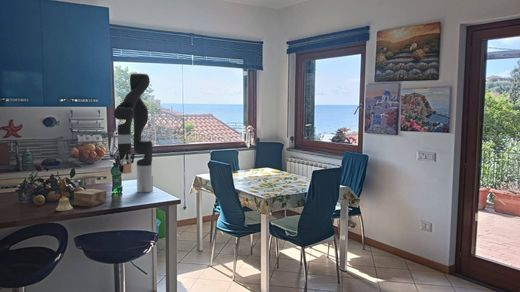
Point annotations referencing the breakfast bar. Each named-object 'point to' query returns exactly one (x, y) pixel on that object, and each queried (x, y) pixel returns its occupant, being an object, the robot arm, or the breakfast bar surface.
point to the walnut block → (89, 197)
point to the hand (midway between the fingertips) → (124, 171)
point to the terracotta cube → (126, 168)
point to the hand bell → (63, 199)
